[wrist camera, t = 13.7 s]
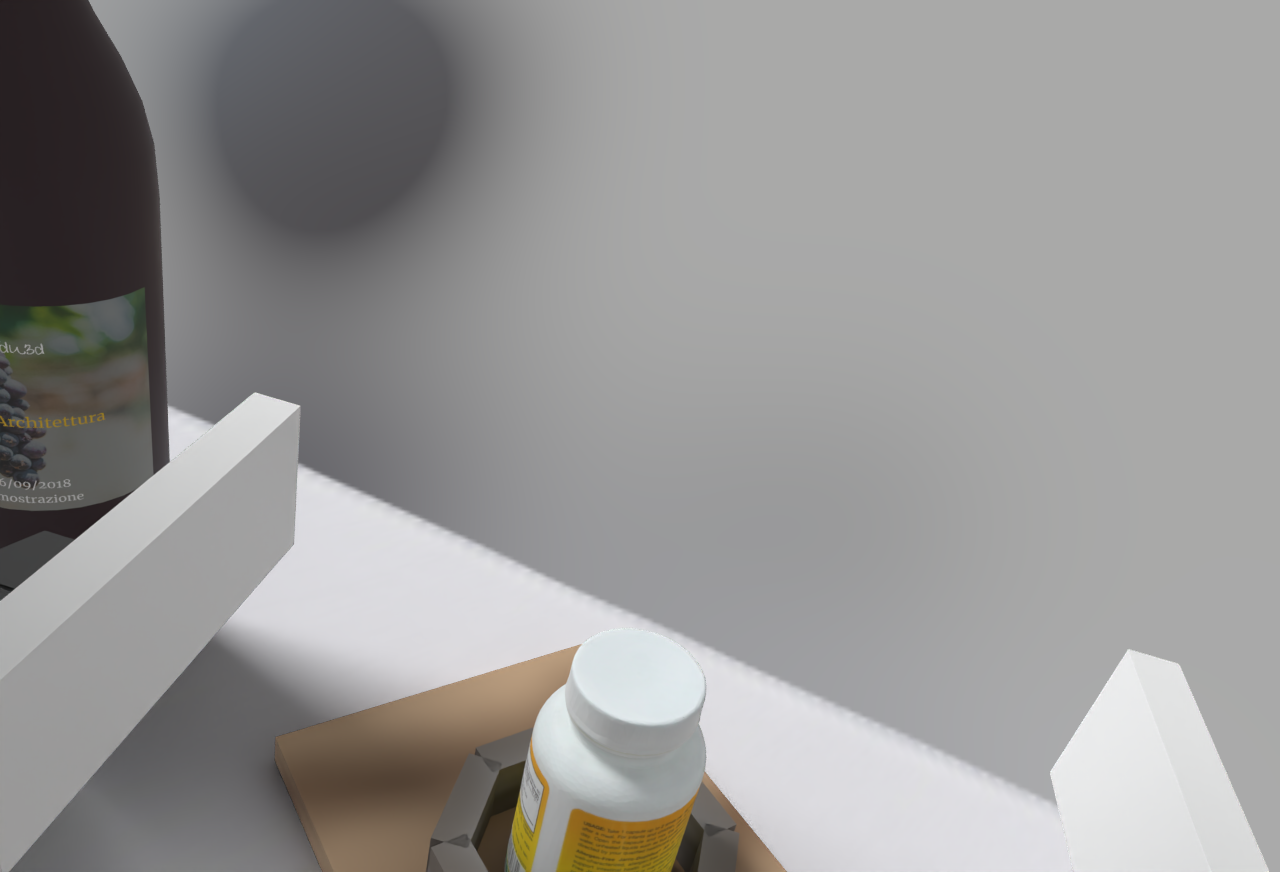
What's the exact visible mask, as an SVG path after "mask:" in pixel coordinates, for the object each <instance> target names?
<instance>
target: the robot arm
mask: <svg viewBox="0 0 1280 872" xmlns="http://www.w3.org/2000/svg"><path fill="white" fill-rule="evenodd" d="M299 428H300V406H299V405H295V404H292V403H289V402H285V401H282V400H279V399H275V398H272V397H268V396H265V395H262V394H258V393H253V394H252V395H251V396H250V397H249V398H247V399H246V400H245V401H244V402H242V403H241V404H240V405H239V406H238V407H236V408H235V409H234V410H233V411H231V412H230V413H229V414H228V415H227V416H225V417H224V418H223V419H222V420H220V421H219V422H218V423H217V424H216V425H214V426H213V427H212V428H211V429H209V430H208V431H207V432H206V433H205V434H203V435H202V436H201V437H200V438H199V439H197V440H196V441H195V442H194V443H192V444H191V445H190V446H189V447H188V448H186V449H185V450H184V451H183V452H181V453H180V454H179V455H178V456H177V457H175V458H174V459H173V460H172V461H170V462H169V463H168V464H167V465H166V466H164V467H163V468H162V469H161V470H159V471H158V472H157V473H156V474H155V475H153V476H152V477H151V478H150V479H148V480H147V481H146V482H145V483H144V484H142V485H141V486H140V487H139V488H138V489H136V490H135V491H134V492H133V493H131V494H130V495H129V496H128V497H127V498H125V499H124V500H123V501H122V502H120V503H119V504H118V505H117V506H116V507H114V508H113V509H112V510H111V511H109V512H108V513H107V514H106V515H105V516H103V517H102V518H101V519H100V520H98V521H97V522H96V523H95V524H94V525H92V526H91V527H90V528H89V529H88V530H86V531H85V532H84V533H83V534H81V535H80V536H79V537H78V538H77V539H75V540H74V539H71V538H68V537H64V536H61V535H58V534H55V533H51V532H48V531H43V532H40V533H38V534H35V535H33V536H30V537H28V538H25V539H23V540H20V541H18V542H16V543H13V544H11V545H8V546H6V547H3V548H1V549H0V872H9V871H10V870H11V869H12V868H13V867H14V866H15V865H16V863H17V862H18V861H19V860H20V859H21V858H22V856H23V855H24V854H25V853H26V852H27V851H28V850H29V848H30V847H31V846H32V845H33V844H34V843H35V841H36V840H37V839H38V838H39V837H40V836H41V835H42V833H43V832H44V831H45V830H46V829H47V828H48V827H49V825H50V824H51V823H52V822H53V821H54V820H55V818H56V817H57V816H58V815H59V814H60V813H61V812H62V810H63V809H64V808H65V807H66V806H67V805H68V804H69V802H70V801H71V800H72V799H73V798H74V797H75V795H76V794H77V793H78V792H79V791H80V790H81V789H82V787H83V786H84V785H85V784H86V783H87V782H88V780H89V779H90V778H91V777H92V776H93V775H94V774H95V772H96V771H97V770H98V769H99V768H100V767H101V766H102V764H103V763H104V762H105V761H106V760H107V759H108V757H109V756H110V755H111V754H112V753H113V752H114V751H115V749H116V748H117V747H118V746H119V745H120V744H121V743H122V741H123V740H124V739H125V738H126V737H127V736H128V734H129V733H130V732H131V731H132V730H133V729H134V728H135V726H136V725H137V724H138V723H139V722H140V721H141V719H142V718H143V717H144V716H145V715H146V714H147V713H148V711H149V710H150V709H151V708H152V707H153V706H154V705H155V703H156V702H157V701H158V700H159V699H160V698H161V696H162V695H163V694H164V693H165V692H166V691H167V690H168V688H169V687H170V686H171V685H172V684H173V683H174V682H175V680H176V679H177V678H178V677H179V676H180V675H181V673H182V672H183V671H184V670H185V669H186V668H187V667H188V665H189V664H190V663H191V662H192V661H193V660H194V658H195V657H196V656H197V655H198V654H199V653H200V652H201V650H202V649H203V648H204V647H205V646H206V645H207V644H208V642H209V641H210V640H211V639H212V638H213V637H214V635H215V634H216V633H217V632H218V631H219V630H220V629H221V627H222V626H223V625H224V624H225V623H226V622H227V621H228V619H229V618H230V617H231V616H232V615H233V614H234V612H235V611H236V610H237V609H238V608H239V607H240V606H241V604H242V603H243V602H244V601H245V600H246V599H247V597H248V596H249V595H250V594H251V593H252V592H253V591H254V589H255V588H256V587H257V586H258V585H259V584H260V583H261V581H262V580H263V579H264V578H265V577H266V576H267V574H268V573H269V572H270V571H271V570H272V569H273V568H274V566H275V565H276V564H277V563H278V562H279V561H280V560H281V558H282V557H283V556H284V555H285V554H286V553H287V551H288V550H289V549H290V548H291V547H292V546H293V545H294V532H295V511H296V490H297V470H298V448H299ZM1050 774H1051V779H1052V783H1053V787H1054V792H1055V797H1056V801H1057V805H1058V810H1059V814H1060V818H1061V823H1062V827H1063V831H1064V836H1065V840H1066V844H1067V849H1068V853H1069V857H1070V862H1071V866H1072V870H1073V872H1269V870H1268V868H1267V865H1266V863H1265V861H1264V858H1263V856H1262V854H1261V851H1260V849H1259V847H1258V845H1257V842H1256V840H1255V838H1254V835H1253V833H1252V831H1251V828H1250V826H1249V824H1248V822H1247V819H1246V817H1245V815H1244V813H1243V810H1242V808H1241V805H1240V803H1239V801H1238V798H1237V796H1236V794H1235V792H1234V789H1233V787H1232V785H1231V782H1230V780H1229V778H1228V775H1227V773H1226V771H1225V769H1224V766H1223V764H1222V762H1221V759H1220V757H1219V755H1218V752H1217V750H1216V748H1215V745H1214V743H1213V741H1212V739H1211V736H1210V734H1209V732H1208V729H1207V727H1206V725H1205V722H1204V720H1203V718H1202V716H1201V713H1200V711H1199V709H1198V706H1197V704H1196V702H1195V699H1194V697H1193V695H1192V693H1191V690H1190V688H1189V686H1188V684H1187V681H1186V679H1185V676H1184V674H1183V672H1182V669H1181V667H1180V665H1179V664H1177V663H1174V662H1170V661H1167V660H1163V659H1160V658H1157V657H1153V656H1150V655H1146V654H1143V653H1140V652H1136V651H1133V650H1129V649H1128V651H1127V652H1126V654H1125V655H1124V657H1123V658H1122V660H1121V662H1120V663H1119V665H1118V666H1117V668H1116V669H1115V671H1114V673H1113V674H1112V676H1111V677H1110V679H1109V680H1108V682H1107V684H1106V685H1105V687H1104V688H1103V690H1102V691H1101V693H1100V695H1099V696H1098V698H1097V699H1096V701H1095V702H1094V704H1093V706H1092V707H1091V709H1090V710H1089V712H1088V714H1087V715H1086V717H1085V718H1084V720H1083V721H1082V723H1081V725H1080V726H1079V728H1078V729H1077V731H1076V732H1075V734H1074V735H1073V737H1072V739H1071V740H1070V742H1069V743H1068V745H1067V747H1066V748H1065V750H1064V751H1063V753H1062V754H1061V756H1060V758H1059V759H1058V761H1057V762H1056V764H1055V765H1054V767H1053V769H1052V770H1051V772H1050Z"/></svg>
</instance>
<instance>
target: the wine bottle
mask: <svg viewBox="0 0 1280 872" xmlns="http://www.w3.org/2000/svg"><path fill="white" fill-rule="evenodd" d="M160 226H161V224H160V198H159V187H158V177H157V168H156V157H155V149H154V142H153V139H152V135H151V131H150V127H149V124H148V120H147V117H146V113H145V109H144V106H143V102H142V100H141V98H140V96H139V93H138V91H137V89H136V87H135V85H134V83H133V81H132V78H131V76H130V74H129V72H128V70H127V68H126V66H125V64H124V62H123V60H122V58H121V56H120V54H119V52H118V51H117V49H116V47H115V46H114V44H113V42H112V41H111V39H110V38H109V36H108V34H107V32H106V31H105V29H104V27H103V26H102V24H101V23H100V21H99V19H98V17H97V16H96V14H95V12H94V11H93V9H92V7H91V5H90V3H89V1H88V0H0V549H1V548H3V547H6V546H8V545H11V544H13V543H16V542H18V541H20V540H23V539H25V538H28V537H30V536H33V535H35V534H38V533H40V532H43V531H48V532H51V533H55V534H58V535H61V536H64V537H68V538H71V539H74V540H75V539H77V538H78V537H79V536H80V535H81V534H83V533H84V532H85V531H86V530H88V529H89V528H90V527H91V526H92V525H94V524H95V523H96V522H97V521H98V520H100V519H101V518H102V517H103V516H105V515H106V514H107V513H108V512H109V511H111V510H112V509H113V508H114V507H116V506H117V505H118V504H119V503H120V502H122V501H123V500H124V499H125V498H127V497H128V496H129V495H130V494H131V493H133V492H134V491H135V490H136V489H138V488H139V487H140V486H141V485H142V484H144V483H145V482H146V481H147V480H148V479H150V478H151V477H152V476H153V475H155V474H156V473H157V472H158V471H159V470H161V469H162V468H163V467H164V466H166V465H167V464H168V463H169V462H170V460H169V434H168V407H167V382H166V356H165V329H164V302H163V277H162V253H161V252H162V250H161V227H160Z"/></svg>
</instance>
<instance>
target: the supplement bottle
mask: <svg viewBox="0 0 1280 872" xmlns="http://www.w3.org/2000/svg"><path fill="white" fill-rule="evenodd" d="M705 696H706V680H705V676H704V673H703V671H702V669H701V667H700V665H699V664H698V662H697V661H696V660H695V658H694V657H693V656H692V655H691V654H690V653H689V652H688V651H687V650H686V649H685V648H683V647H682V646H681V645H679V644H678V643H676V642H675V641H673V640H671V639H669V638H667V637H664V636H662V635H660V634H657V633H654V632H650V631H645V630H640V629H632V628H622V629H612V630H608V631H604V632H601V633H599V634H596V635H594V636H593V637H591V638H589V639H588V640H586V641H585V642H584V643H583V644H582V645H581V646H580V647H579V649H578V650H577V652H576V654H575V656H574V659H573V662H572V666H571V670H570V674H569V677H568V680H567V683H566V684H565V685H563V686H562V687H560V688H559V689H558V690H557V691H556V692H554V693H553V694H552V695H551V696H550V698H549V699H548V700H547V701H546V702H545V704H544V705H543V707H542V708H541V710H540V712H539V714H538V716H537V719H536V722H535V725H534V729H533V733H532V737H531V741H530V745H529V750H528V755H527V759H526V764H525V768H524V773H523V778H522V783H521V788H520V793H519V798H518V802H517V807H516V811H515V816H514V820H513V824H512V829H511V834H510V838H509V843H508V847H507V853H506V858H505V866H504V872H671V870H672V867H673V864H674V861H675V858H676V855H677V853H678V849H679V846H680V844H681V841H682V837H683V835H684V832H685V829H686V826H687V823H688V820H689V817H690V814H691V811H692V808H693V805H694V802H695V799H696V796H697V794H698V791H699V788H700V785H701V782H702V779H703V775H704V771H705V766H706V747H705V741H704V737H703V734H702V731H701V728H700V726H699V721H700V715H701V711H702V708H703V704H704V700H705Z"/></svg>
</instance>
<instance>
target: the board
mask: <svg viewBox="0 0 1280 872" xmlns="http://www.w3.org/2000/svg"><path fill="white" fill-rule="evenodd" d="M581 645H582V644H581ZM581 645H577V646H574V647H571V648H567V649H564V650H561V651H557V652H554V653H551V654H548V655H544V656H541V657H538V658H534V659H531V660H528V661H525V662H521V663H518V664H515V665H511V666H508V667H505V668H501V669H498V670H495V671H492V672H488V673H485V674H482V675H478V676H475V677H472V678H469V679H465V680H462V681H459V682H455V683H452V684H449V685H445V686H442V687H439V688H436V689H432V690H429V691H426V692H422V693H419V694H416V695H413V696H409V697H406V698H403V699H399V700H396V701H393V702H389V703H386V704H383V705H380V706H376V707H373V708H370V709H366V710H363V711H360V712H357V713H353V714H350V715H347V716H343V717H340V718H337V719H333V720H330V721H327V722H324V723H320V724H317V725H314V726H310V727H307V728H304V729H301V730H297V731H294V732H291V733H287V734H284V735H281V736H278V737H275V762H276V764H277V767H278V769H279V771H280V774H281V776H282V778H283V781H284V783H285V785H286V788H287V790H288V792H289V795H290V797H291V799H292V802H293V804H294V807H295V809H296V811H297V814H298V816H299V818H300V821H301V823H302V825H303V828H304V830H305V832H306V835H307V837H308V840H309V842H310V844H311V847H312V849H313V851H314V854H315V856H316V858H317V861H318V863H319V865H320V868H321V870H322V872H504V866H505V858H506V853H507V847H508V843H509V838H510V834H511V829H512V824H513V820H514V816H515V811H516V807H517V802H518V798H519V793H520V788H521V783H522V778H523V773H524V768H525V764H526V759H527V755H528V750H529V745H530V741H531V737H532V733H533V729H534V725H535V722H536V719H537V716H538V714H539V712H540V710H541V708H542V707H543V705H544V704H545V702H546V701H547V700H548V699H549V698H550V696H551V695H552V694H553V693H554V692H556V691H557V690H558V689H559V688H560V687H562V686H563V685H565V684H566V683H567V680H568V677H569V674H570V670H571V666H572V662H573V659H574V656H575V654H576V652H577V650H578V649H579V647H580V646H581ZM671 872H787V871H786V870H785V869H784V868H783V867H782V865H781V864H780V863H779V862H778V860H777V859H776V858H775V857H774V856H773V854H772V853H771V852H770V851H769V849H768V848H767V847H766V846H765V845H764V843H763V842H762V841H761V840H760V838H759V837H758V836H757V835H756V834H755V832H754V831H753V830H752V829H751V827H750V826H749V825H748V824H747V823H746V821H745V820H744V819H743V818H742V817H741V815H740V814H739V813H738V812H737V810H736V809H735V808H734V807H733V806H732V804H731V803H730V802H729V801H728V799H727V798H726V797H725V796H724V795H723V793H722V792H721V791H720V790H719V788H718V787H717V786H716V785H715V784H714V782H713V781H712V780H711V779H710V777H709V776H708V775H707V774H706V773H705V771H704V775H703V779H702V782H701V785H700V788H699V791H698V794H697V796H696V799H695V802H694V805H693V808H692V811H691V814H690V817H689V820H688V823H687V826H686V829H685V832H684V835H683V837H682V841H681V844H680V846H679V849H678V853H677V855H676V858H675V861H674V864H673V867H672V870H671Z"/></svg>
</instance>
